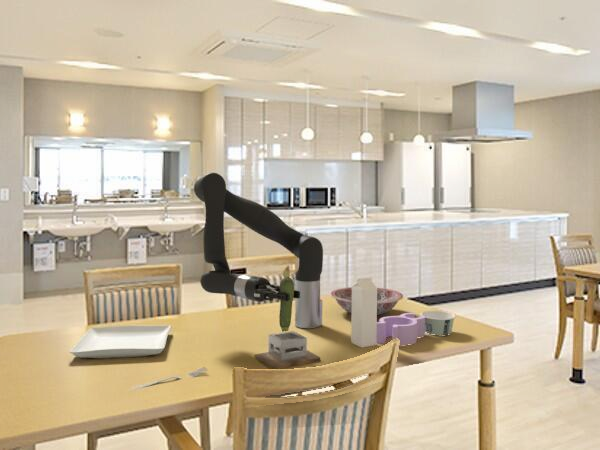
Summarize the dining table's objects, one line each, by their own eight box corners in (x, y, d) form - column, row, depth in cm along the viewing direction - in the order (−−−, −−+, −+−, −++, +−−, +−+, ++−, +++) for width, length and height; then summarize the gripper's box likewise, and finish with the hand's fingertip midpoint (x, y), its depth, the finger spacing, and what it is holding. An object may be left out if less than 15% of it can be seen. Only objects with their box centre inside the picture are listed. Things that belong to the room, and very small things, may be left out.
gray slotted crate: (292, 349, 162) (292, 330, 161) (306, 357, 155) (306, 338, 154) (268, 354, 158) (268, 334, 157) (281, 362, 150) (281, 342, 150)
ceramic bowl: (315, 314, 210) (315, 294, 209) (356, 301, 232) (357, 284, 231) (377, 327, 191) (378, 306, 190) (415, 312, 213) (416, 293, 212)
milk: (376, 345, 170) (378, 278, 168) (361, 348, 167) (362, 280, 165) (365, 340, 175) (366, 275, 174) (350, 342, 172) (351, 277, 171)
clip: (402, 329, 189) (403, 311, 188) (433, 337, 180) (434, 317, 179) (369, 341, 174) (369, 321, 174) (401, 350, 166) (401, 328, 165)
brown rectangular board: (300, 349, 165) (300, 346, 165) (320, 360, 155) (320, 357, 155) (254, 357, 157) (254, 354, 157) (272, 370, 147) (272, 366, 147)
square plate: (164, 359, 157) (164, 347, 156) (68, 364, 152) (67, 351, 152) (172, 333, 183) (172, 323, 183) (90, 337, 179) (90, 325, 179)
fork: (115, 391, 133) (115, 384, 133) (203, 371, 147) (203, 365, 146) (119, 395, 130) (119, 388, 130) (208, 375, 144) (208, 369, 144)
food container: (462, 334, 183) (463, 316, 182) (438, 339, 176) (438, 320, 176) (436, 326, 193) (437, 308, 192) (413, 331, 187) (413, 313, 186)
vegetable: (278, 328, 157) (279, 263, 156) (293, 328, 158) (294, 263, 156) (279, 333, 153) (280, 266, 151) (294, 333, 153) (295, 266, 152)
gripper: (235, 279, 158) (278, 287, 147) (267, 273, 169) (309, 280, 158) (235, 303, 158) (278, 313, 148) (267, 296, 169) (308, 304, 159)
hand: (294, 296), depth 153 cm, fingers closed on vegetable, 4 cm apart
